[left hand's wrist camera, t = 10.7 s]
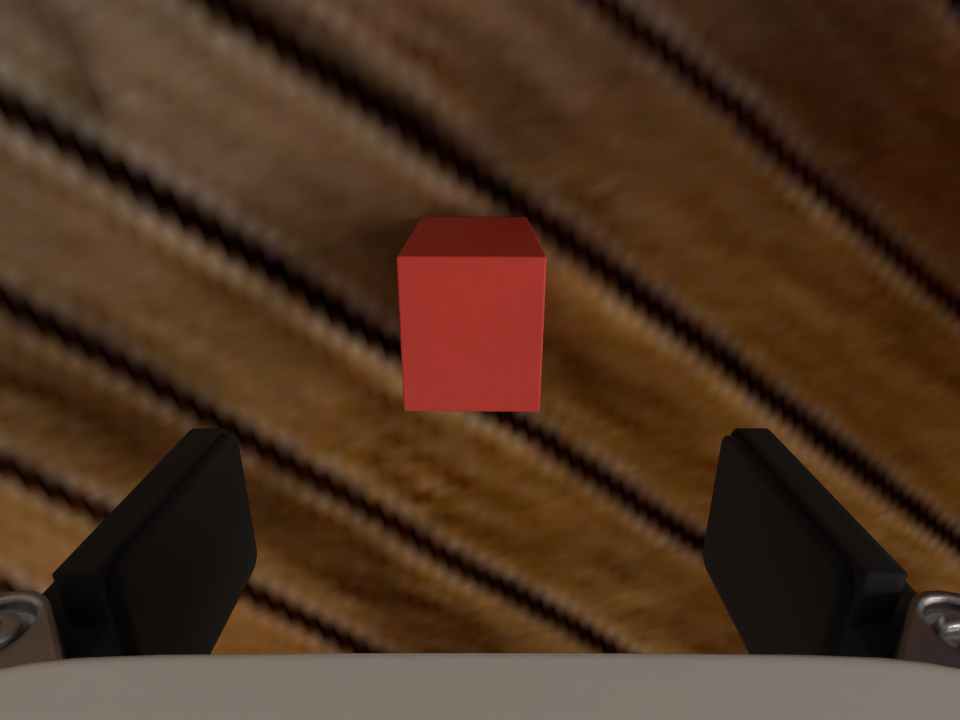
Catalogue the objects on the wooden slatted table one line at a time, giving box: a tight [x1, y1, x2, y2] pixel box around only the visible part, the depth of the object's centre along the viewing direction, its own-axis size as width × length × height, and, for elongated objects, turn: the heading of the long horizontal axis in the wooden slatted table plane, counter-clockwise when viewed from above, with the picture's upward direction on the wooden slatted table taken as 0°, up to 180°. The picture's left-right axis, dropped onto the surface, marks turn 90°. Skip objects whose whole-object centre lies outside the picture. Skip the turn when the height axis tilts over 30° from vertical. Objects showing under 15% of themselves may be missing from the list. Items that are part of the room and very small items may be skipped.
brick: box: [397, 217, 547, 411], centre depth 23 cm, size 5×5×8 cm
